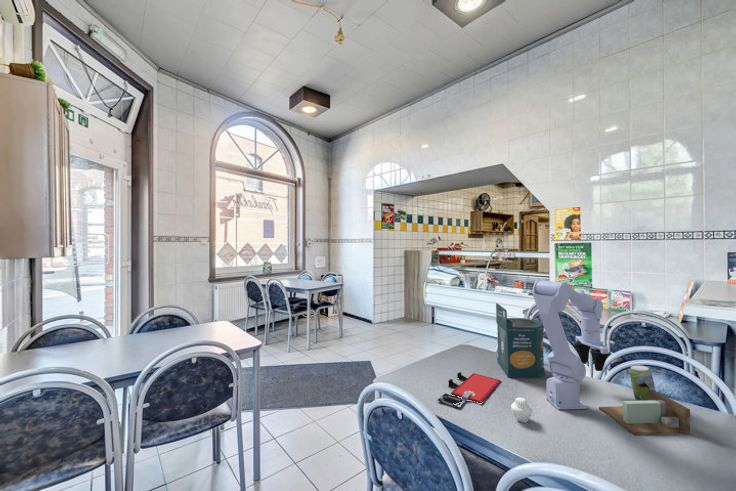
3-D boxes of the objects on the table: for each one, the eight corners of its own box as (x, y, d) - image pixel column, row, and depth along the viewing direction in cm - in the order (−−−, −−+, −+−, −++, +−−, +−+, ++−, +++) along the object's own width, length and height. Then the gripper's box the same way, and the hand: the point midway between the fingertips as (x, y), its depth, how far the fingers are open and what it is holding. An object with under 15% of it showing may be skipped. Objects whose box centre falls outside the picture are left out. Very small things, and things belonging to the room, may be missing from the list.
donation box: (497, 362, 147) (495, 302, 147) (534, 363, 145) (532, 302, 145) (507, 377, 131) (506, 310, 131) (549, 378, 129) (547, 310, 129)
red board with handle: (432, 401, 114) (473, 415, 104) (432, 393, 114) (473, 407, 104) (464, 374, 137) (500, 383, 127) (464, 367, 137) (500, 376, 127)
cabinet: (634, 434, 91) (633, 410, 91) (599, 409, 105) (598, 388, 105) (690, 433, 91) (689, 409, 91) (647, 408, 105) (647, 387, 105)
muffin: (523, 427, 96) (523, 404, 96) (506, 417, 101) (506, 396, 101) (537, 421, 99) (536, 399, 99) (519, 412, 104) (519, 391, 104)
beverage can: (662, 407, 105) (661, 371, 105) (636, 405, 106) (636, 370, 106) (649, 398, 111) (648, 364, 111) (625, 396, 113) (625, 363, 112)
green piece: (628, 423, 95) (627, 404, 95) (622, 420, 97) (622, 400, 97) (668, 423, 95) (667, 403, 95) (662, 419, 97) (661, 399, 97)
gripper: (616, 335, 109) (617, 374, 109) (588, 324, 124) (588, 358, 124) (596, 335, 109) (597, 374, 110) (570, 324, 124) (570, 359, 124)
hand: (591, 366), depth 117 cm, fingers open, 7 cm apart
